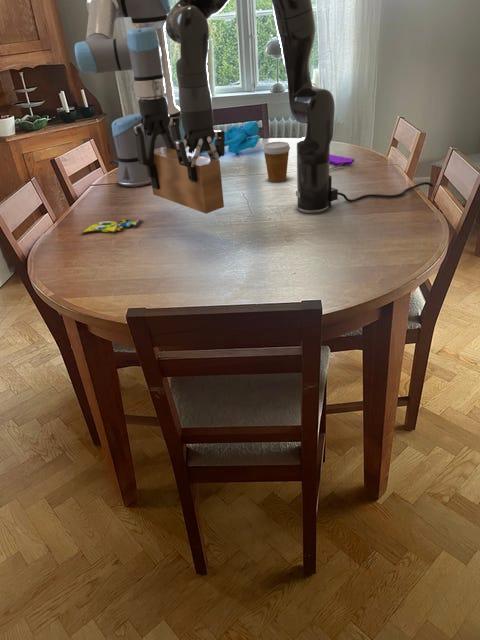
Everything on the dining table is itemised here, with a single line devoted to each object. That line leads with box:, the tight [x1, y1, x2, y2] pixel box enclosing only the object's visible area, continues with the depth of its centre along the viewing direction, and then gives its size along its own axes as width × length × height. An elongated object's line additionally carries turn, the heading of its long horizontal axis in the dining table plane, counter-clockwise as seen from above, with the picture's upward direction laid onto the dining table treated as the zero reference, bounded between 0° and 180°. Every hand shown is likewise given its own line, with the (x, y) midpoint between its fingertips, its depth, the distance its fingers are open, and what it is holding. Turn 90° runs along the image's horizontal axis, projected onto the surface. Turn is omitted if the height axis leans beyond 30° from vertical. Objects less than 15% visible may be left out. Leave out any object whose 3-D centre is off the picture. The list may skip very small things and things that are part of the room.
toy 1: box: [82, 218, 141, 235], centre depth 145 cm, size 10×1×15 cm
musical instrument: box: [329, 154, 355, 171], centre depth 185 cm, size 24×2×20 cm
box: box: [150, 147, 225, 215], centre depth 129 cm, size 25×6×12 cm, turn 41°
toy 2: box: [199, 120, 261, 155], centre depth 207 cm, size 17×11×30 cm
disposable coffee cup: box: [262, 141, 291, 183], centre depth 169 cm, size 10×10×12 cm
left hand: (166, 184), depth 137 cm, fingers closed on box, 6 cm apart
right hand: (204, 178), depth 122 cm, fingers closed on box, 6 cm apart
